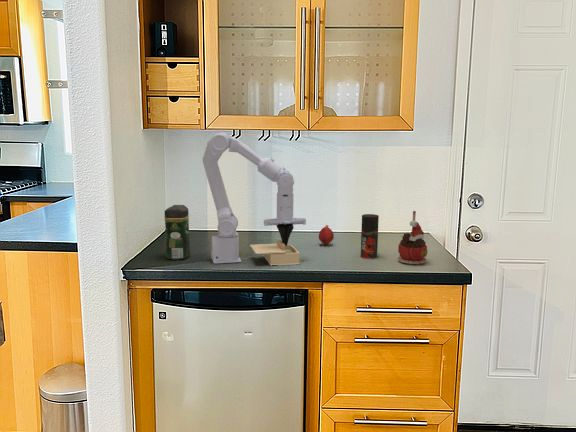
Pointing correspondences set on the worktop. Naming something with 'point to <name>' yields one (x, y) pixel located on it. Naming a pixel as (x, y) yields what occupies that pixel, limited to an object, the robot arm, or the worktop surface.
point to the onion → (326, 235)
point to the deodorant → (369, 236)
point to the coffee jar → (177, 232)
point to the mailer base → (284, 257)
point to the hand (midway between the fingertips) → (284, 245)
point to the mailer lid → (269, 248)
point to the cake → (413, 245)
